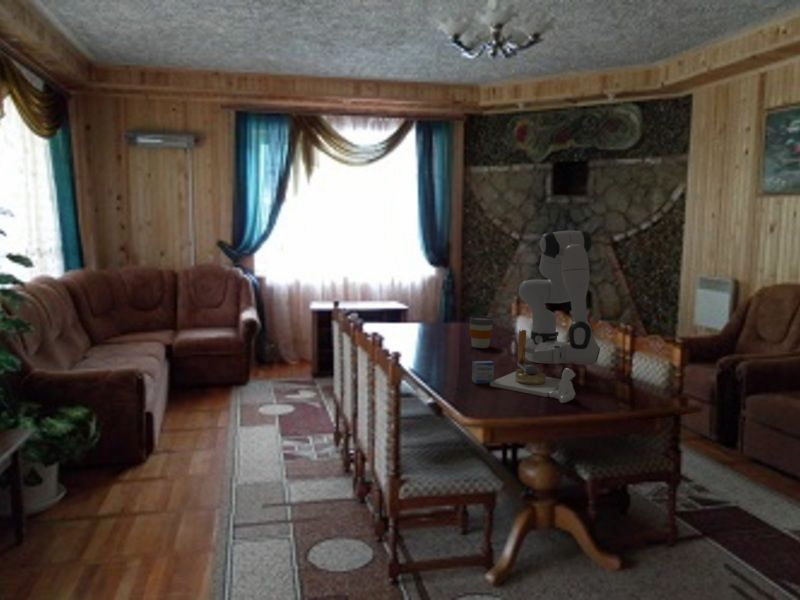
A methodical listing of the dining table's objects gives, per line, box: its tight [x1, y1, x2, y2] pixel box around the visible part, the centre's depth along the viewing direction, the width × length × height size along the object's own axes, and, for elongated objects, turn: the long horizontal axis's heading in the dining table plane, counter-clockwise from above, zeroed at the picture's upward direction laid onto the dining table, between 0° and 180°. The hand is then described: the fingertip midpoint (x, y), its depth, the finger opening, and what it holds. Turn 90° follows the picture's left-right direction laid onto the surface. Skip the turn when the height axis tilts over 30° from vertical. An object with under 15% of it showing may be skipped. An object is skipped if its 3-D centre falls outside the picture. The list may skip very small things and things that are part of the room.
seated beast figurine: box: [548, 367, 577, 404], centre depth 229 cm, size 10×9×12 cm
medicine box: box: [471, 360, 495, 385], centre depth 250 cm, size 8×4×9 cm, turn 105°
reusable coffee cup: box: [469, 316, 494, 349], centre depth 323 cm, size 13×13×15 cm
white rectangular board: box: [489, 364, 562, 398], centre depth 248 cm, size 24×24×8 cm
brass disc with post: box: [515, 329, 547, 385], centre depth 252 cm, size 22×12×18 cm, turn 5°
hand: (525, 349), depth 261 cm, fingers closed
